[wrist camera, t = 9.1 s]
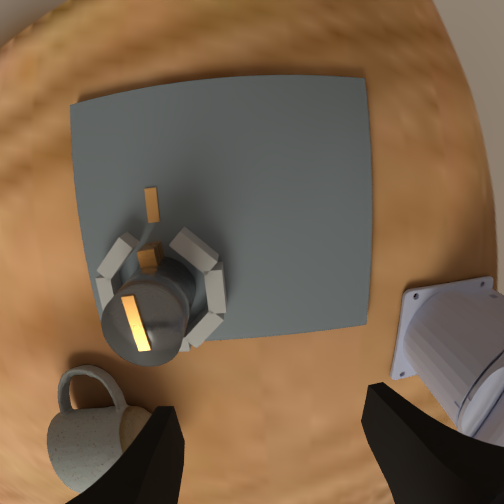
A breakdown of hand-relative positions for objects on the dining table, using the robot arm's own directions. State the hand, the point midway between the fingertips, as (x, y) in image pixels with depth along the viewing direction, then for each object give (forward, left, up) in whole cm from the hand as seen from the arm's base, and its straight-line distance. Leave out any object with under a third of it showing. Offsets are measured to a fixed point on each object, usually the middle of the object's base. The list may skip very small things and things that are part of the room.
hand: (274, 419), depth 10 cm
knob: (+6, -2, -10) cm, 11 cm away
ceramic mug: (+13, +10, -11) cm, 20 cm away
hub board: (+2, -6, -10) cm, 12 cm away
